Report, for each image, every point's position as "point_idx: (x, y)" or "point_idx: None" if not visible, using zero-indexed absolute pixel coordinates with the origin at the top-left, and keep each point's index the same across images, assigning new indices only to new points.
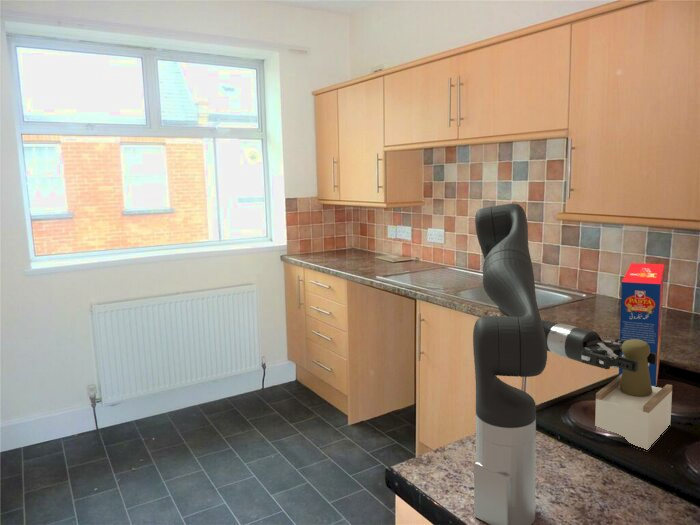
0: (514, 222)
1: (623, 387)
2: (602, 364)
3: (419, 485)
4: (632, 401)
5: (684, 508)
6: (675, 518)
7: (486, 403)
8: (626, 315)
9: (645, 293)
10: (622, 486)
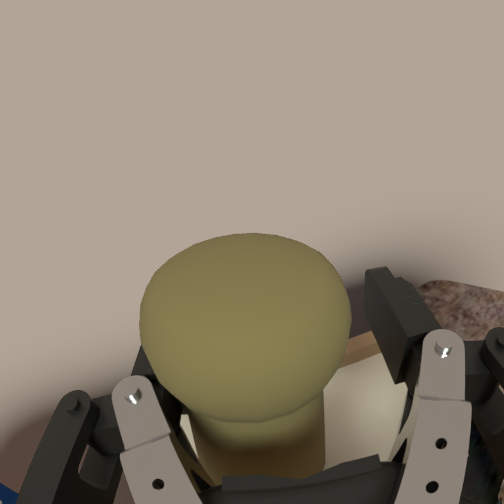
0: None
1: (322, 465)
2: (488, 411)
3: None
4: (358, 408)
5: (429, 289)
6: (451, 281)
7: None
8: None
9: None
10: (479, 335)
